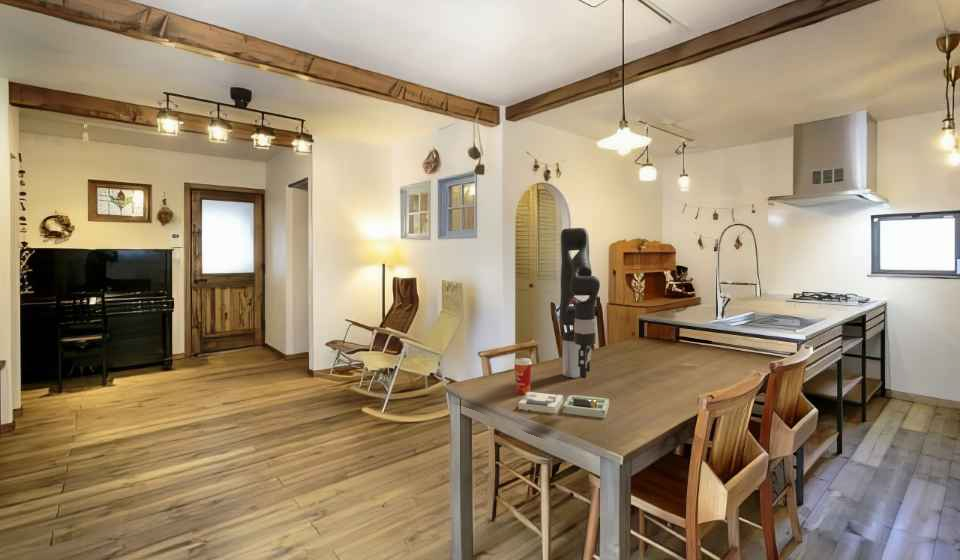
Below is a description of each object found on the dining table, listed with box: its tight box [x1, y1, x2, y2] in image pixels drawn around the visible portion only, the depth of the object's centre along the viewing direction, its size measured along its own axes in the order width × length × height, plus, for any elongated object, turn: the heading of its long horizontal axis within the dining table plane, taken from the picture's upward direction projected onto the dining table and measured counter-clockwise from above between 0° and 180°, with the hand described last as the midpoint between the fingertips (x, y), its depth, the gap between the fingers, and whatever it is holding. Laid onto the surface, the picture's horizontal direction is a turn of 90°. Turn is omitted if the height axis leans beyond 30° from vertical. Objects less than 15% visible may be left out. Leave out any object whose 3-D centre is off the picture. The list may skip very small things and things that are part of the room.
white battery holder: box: [518, 391, 564, 414], centre depth 175 cm, size 14×14×4 cm
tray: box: [562, 394, 610, 419], centre depth 170 cm, size 14×15×3 cm
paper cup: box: [513, 357, 533, 395], centre depth 191 cm, size 8×8×14 cm
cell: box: [573, 398, 598, 409], centre depth 167 cm, size 3×9×3 cm, turn 69°
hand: (584, 374), depth 166 cm, fingers open, 8 cm apart
